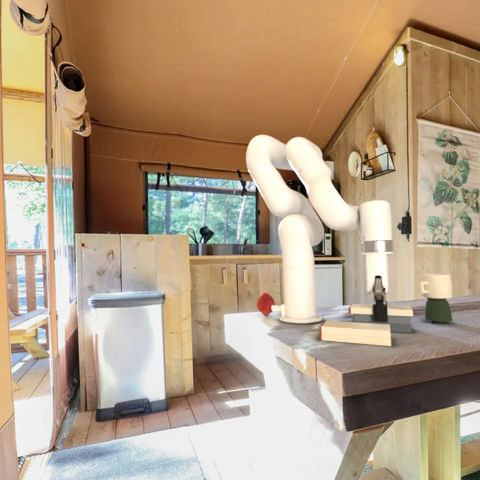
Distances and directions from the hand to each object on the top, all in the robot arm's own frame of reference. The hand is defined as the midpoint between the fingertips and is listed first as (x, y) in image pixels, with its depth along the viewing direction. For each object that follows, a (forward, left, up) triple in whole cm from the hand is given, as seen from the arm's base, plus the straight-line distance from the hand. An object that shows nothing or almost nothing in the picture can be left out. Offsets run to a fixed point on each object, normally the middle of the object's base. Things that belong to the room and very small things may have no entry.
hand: (380, 318), depth 77 cm
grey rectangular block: (0, 0, -3) cm, 3 cm away
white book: (0, 0, +1) cm, 1 cm away
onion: (-34, +8, -3) cm, 35 cm away
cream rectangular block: (-5, -13, -3) cm, 14 cm away
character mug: (+14, +13, -3) cm, 19 cm away
